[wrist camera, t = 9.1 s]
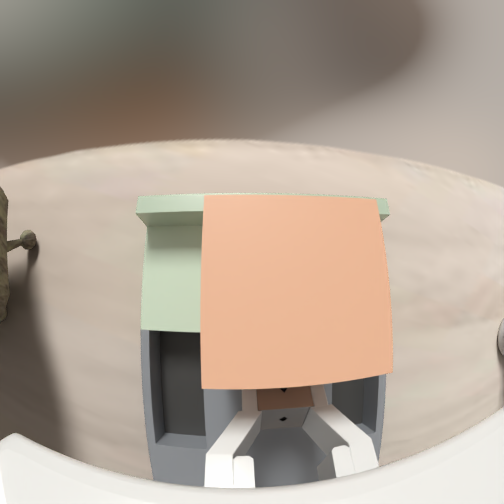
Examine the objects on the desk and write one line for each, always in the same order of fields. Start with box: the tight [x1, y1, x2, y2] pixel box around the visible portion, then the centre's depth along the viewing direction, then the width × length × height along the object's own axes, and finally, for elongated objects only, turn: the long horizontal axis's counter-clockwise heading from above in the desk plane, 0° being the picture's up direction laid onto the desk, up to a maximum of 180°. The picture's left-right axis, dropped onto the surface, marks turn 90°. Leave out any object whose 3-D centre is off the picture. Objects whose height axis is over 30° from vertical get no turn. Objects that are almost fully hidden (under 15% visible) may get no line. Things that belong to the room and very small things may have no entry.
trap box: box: [136, 193, 390, 488], centre depth 13 cm, size 20×14×4 cm
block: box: [200, 195, 393, 389], centre depth 10 cm, size 5×5×8 cm
